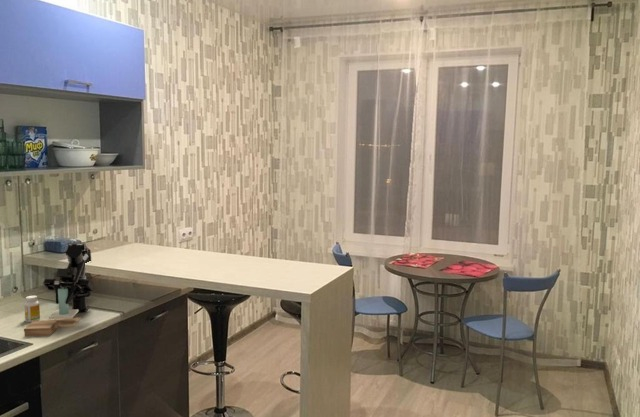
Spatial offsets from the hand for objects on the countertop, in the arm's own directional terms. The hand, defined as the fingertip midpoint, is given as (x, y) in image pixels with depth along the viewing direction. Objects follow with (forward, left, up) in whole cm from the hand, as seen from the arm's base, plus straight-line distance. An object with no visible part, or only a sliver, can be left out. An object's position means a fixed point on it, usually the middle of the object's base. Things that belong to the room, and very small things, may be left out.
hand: (61, 303), depth 215 cm
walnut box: (+9, -5, -8) cm, 13 cm away
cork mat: (-1, 0, -8) cm, 9 cm away
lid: (-1, 0, -5) cm, 5 cm away
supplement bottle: (-6, -14, -9) cm, 17 cm away
